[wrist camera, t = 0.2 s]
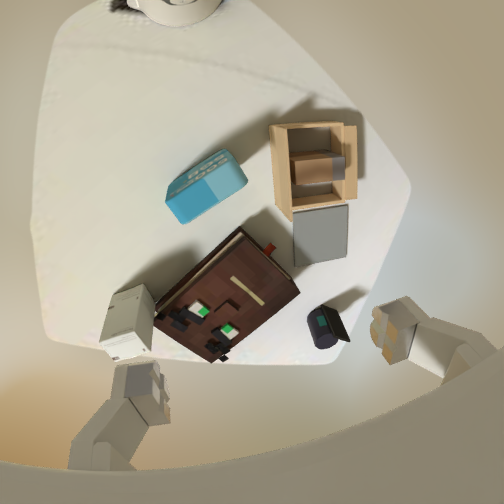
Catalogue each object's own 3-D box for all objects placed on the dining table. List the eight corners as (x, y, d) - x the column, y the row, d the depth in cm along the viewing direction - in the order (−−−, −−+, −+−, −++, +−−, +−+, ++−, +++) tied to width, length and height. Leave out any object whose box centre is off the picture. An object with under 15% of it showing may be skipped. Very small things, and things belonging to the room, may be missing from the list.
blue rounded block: (224, 147, 53) (234, 157, 42) (237, 167, 55) (250, 183, 44) (168, 184, 54) (163, 204, 43) (182, 203, 56) (181, 228, 45)
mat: (292, 213, 61) (293, 214, 60) (346, 205, 62) (347, 205, 62) (294, 266, 66) (295, 267, 66) (345, 256, 68) (345, 257, 68)
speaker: (326, 298, 72) (342, 329, 63) (337, 310, 75) (352, 340, 66) (300, 316, 74) (312, 348, 65) (312, 327, 77) (324, 358, 68)
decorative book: (314, 290, 61) (208, 373, 66) (302, 272, 68) (205, 351, 73) (252, 227, 53) (139, 330, 57) (244, 212, 59) (142, 308, 64)
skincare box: (143, 282, 61) (136, 328, 48) (157, 304, 64) (153, 352, 51) (110, 295, 61) (96, 342, 48) (124, 316, 64) (115, 364, 51)
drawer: (268, 125, 52) (284, 128, 44) (344, 120, 54) (370, 124, 46) (275, 204, 59) (290, 221, 51) (345, 194, 61) (369, 209, 53)
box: (280, 153, 55) (294, 161, 48) (325, 149, 56) (344, 156, 49) (282, 174, 57) (296, 185, 50) (326, 169, 58) (345, 179, 51)
